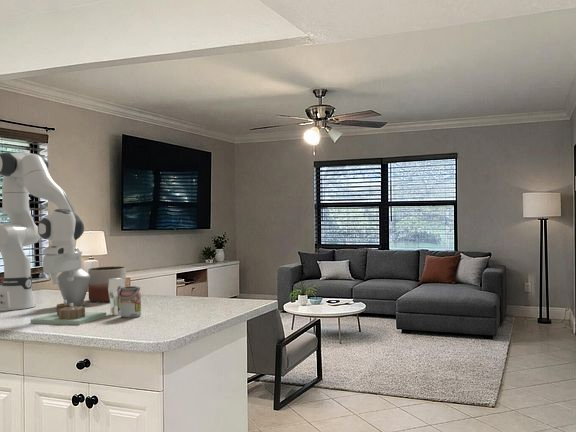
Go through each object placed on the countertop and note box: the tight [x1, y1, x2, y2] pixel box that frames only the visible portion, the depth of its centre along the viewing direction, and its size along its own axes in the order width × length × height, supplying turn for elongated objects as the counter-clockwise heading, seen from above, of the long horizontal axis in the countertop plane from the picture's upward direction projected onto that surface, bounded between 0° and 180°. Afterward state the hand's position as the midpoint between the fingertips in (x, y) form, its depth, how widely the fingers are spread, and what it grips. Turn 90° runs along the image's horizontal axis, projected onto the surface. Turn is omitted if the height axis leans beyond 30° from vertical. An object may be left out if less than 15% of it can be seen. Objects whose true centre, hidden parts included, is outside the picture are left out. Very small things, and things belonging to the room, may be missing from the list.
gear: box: [56, 302, 70, 315], centre depth 232 cm, size 6×6×4 cm
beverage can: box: [118, 285, 142, 319], centre depth 231 cm, size 9×8×12 cm
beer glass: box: [108, 278, 125, 316], centre depth 238 cm, size 7×7×15 cm
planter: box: [87, 265, 127, 303], centre depth 279 cm, size 18×18×16 cm
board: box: [30, 300, 107, 326], centre depth 228 cm, size 22×18×7 cm
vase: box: [57, 251, 90, 307], centre depth 263 cm, size 14×14×25 cm
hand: (63, 282), depth 232 cm, fingers open, 8 cm apart
